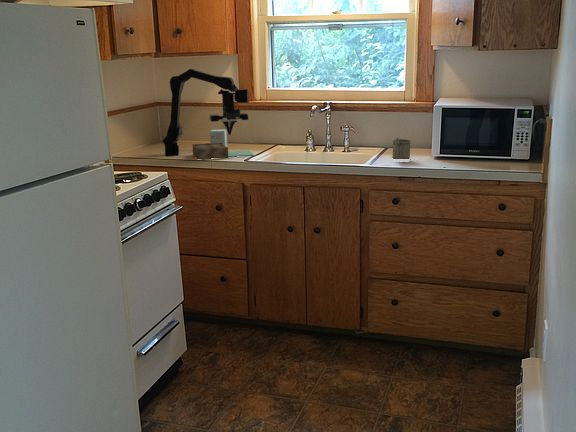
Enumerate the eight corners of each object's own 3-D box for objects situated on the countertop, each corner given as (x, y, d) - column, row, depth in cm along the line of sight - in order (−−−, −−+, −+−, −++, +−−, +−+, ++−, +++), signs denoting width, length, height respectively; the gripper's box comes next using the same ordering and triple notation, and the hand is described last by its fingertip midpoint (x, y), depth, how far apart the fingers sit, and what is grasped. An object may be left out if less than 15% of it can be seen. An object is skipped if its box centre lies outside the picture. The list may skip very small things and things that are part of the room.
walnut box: (198, 160, 305) (197, 149, 304) (193, 155, 320) (192, 144, 318) (228, 158, 309) (227, 147, 308) (222, 153, 324) (221, 142, 323)
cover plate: (228, 159, 311) (228, 156, 311) (223, 154, 323) (223, 151, 323) (253, 157, 314) (253, 154, 314) (248, 153, 326) (248, 150, 326)
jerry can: (394, 158, 304) (395, 133, 301) (414, 160, 300) (415, 134, 296) (384, 163, 292) (385, 138, 288) (404, 165, 287) (405, 139, 284)
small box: (227, 148, 337) (226, 129, 334) (225, 150, 331) (224, 130, 328) (212, 148, 337) (211, 129, 335) (210, 150, 332) (209, 130, 329)
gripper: (212, 105, 300) (214, 138, 304) (250, 103, 305) (251, 135, 310) (208, 103, 311) (210, 134, 315) (245, 101, 316) (246, 132, 320)
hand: (229, 134), depth 314 cm, fingers closed
